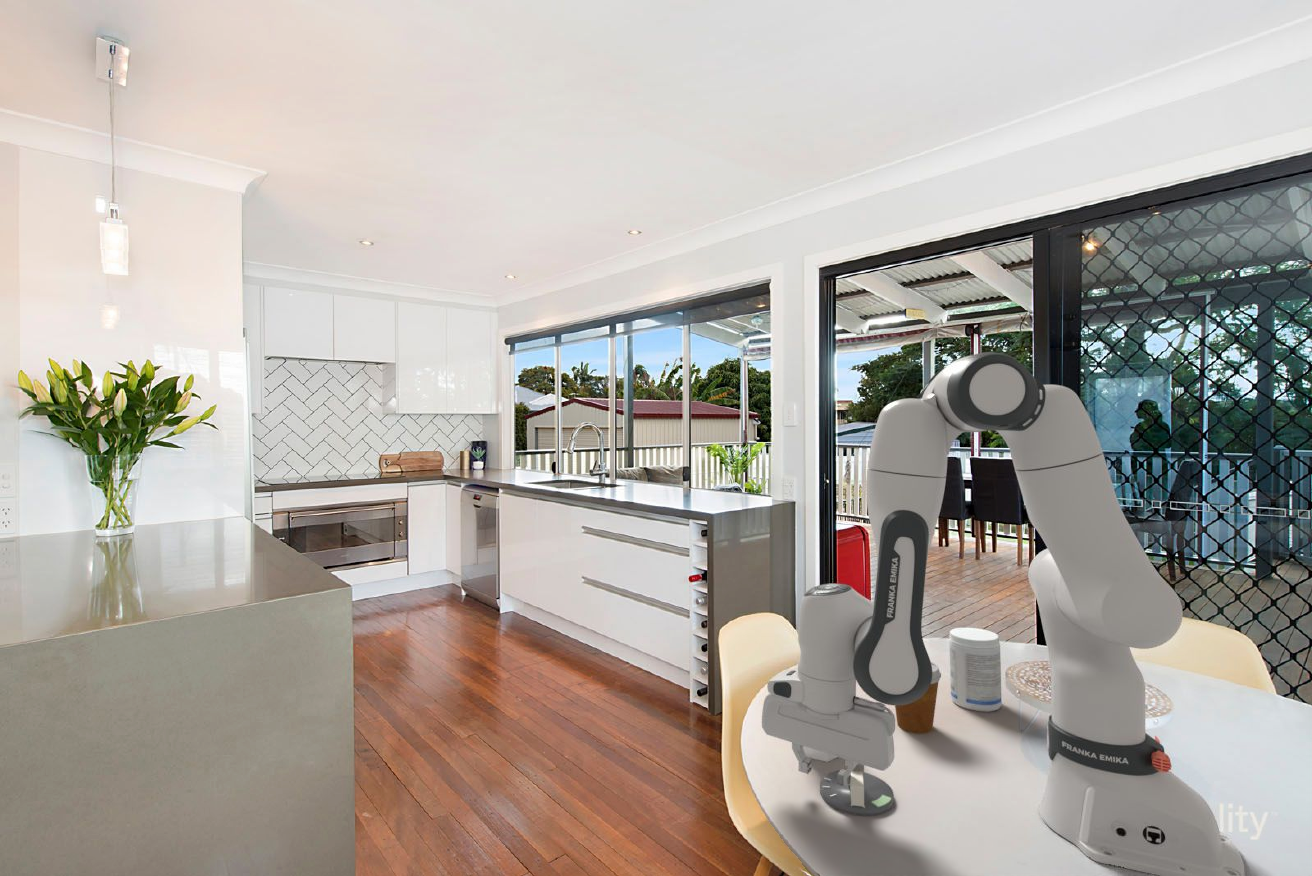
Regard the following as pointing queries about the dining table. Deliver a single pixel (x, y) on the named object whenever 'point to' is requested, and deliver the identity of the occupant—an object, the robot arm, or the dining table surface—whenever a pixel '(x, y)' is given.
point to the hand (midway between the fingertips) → (824, 777)
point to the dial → (875, 795)
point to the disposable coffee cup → (920, 708)
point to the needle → (857, 785)
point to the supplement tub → (975, 669)
